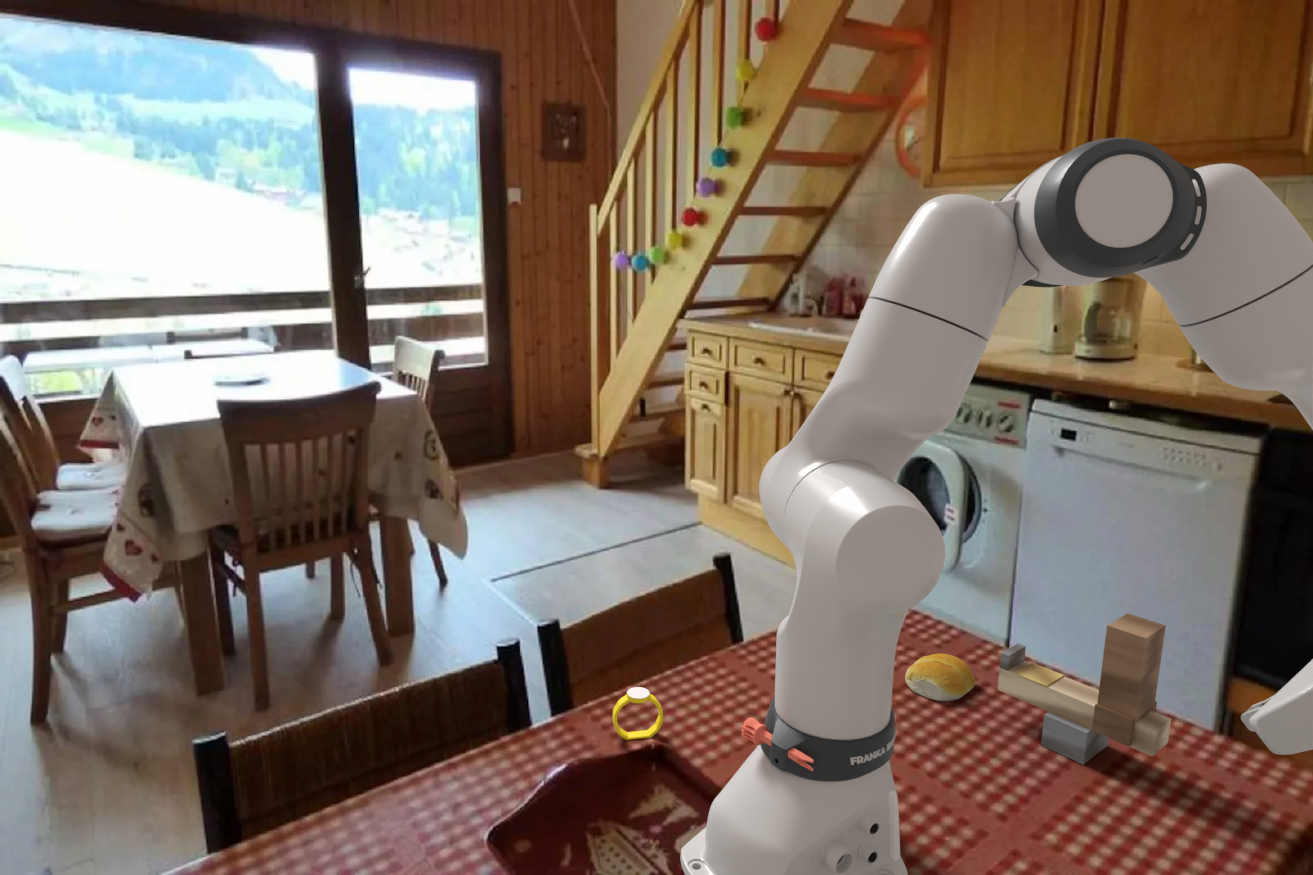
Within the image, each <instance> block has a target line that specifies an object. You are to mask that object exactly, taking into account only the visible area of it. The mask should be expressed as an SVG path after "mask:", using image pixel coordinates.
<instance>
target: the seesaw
mask: <svg viewBox="0 0 1313 875" xmlns="http://www.w3.org/2000/svg"><path fill="white" fill-rule="evenodd" d="M1026 648H1027V646H1026V645H1025V644H1021V643H1019V642H1017V643H1016V644H1015V645H1013V646H1011V647H1009V648H1007V649H1006V650H1003V651H1002V652H1000V659H999V660H1000V661H999V669H998V671H999V672H998V681H997V691H1000V692H1002V693H1003V694H1004V693H1005V694H1007V695H1009V696H1011V697H1014V698H1016V699H1018V700H1020V701H1023V702H1025V703H1028V704H1029V705H1032V706H1034V707H1036V708H1039V709H1040V710H1044V711H1046V712H1045V713H1044V715H1043V722H1042V723H1043V724H1042V733H1041V741H1040V746H1042V747H1045V748H1046V749H1049V750H1051V751H1053V752H1055V753H1057V754H1059V755H1062V756H1063V757H1066V758H1067V759H1071V760H1072V761H1074V762H1076V763H1079V764H1081V765H1086V763H1088V761H1090V760H1092V758H1094V757H1095V756H1096V755H1098V754H1100V752H1101V751H1103V750H1104V749H1105V748H1106V747H1108V746H1109V745H1108V744H1109V740H1110V738H1107V737H1105V736H1103V735H1100V734H1098V733H1096V732H1093V731H1092V724H1093V716H1094V708H1095V705H1096V704H1097V703H1098V695H1099V689H1097V688H1094V687H1092V686H1090V685H1087V684H1085V683H1081V682H1079V681H1076V680H1074V679H1072V678H1070V677H1068V676H1065V675H1064V674H1062V673H1059V672H1058V671H1055V670H1052V669H1049V668H1047V667H1044V666H1043V665H1042V666H1041V665H1039V664H1037V663H1036V662H1035V663H1034V662H1028V661H1026V660H1025V658H1026V657H1025V656H1026ZM1171 723H1172V718H1170V717H1168V716H1165V715H1163V714H1160V713H1158V712H1157V711H1156V712H1153V711H1150V712H1148V713H1147V714H1146V715H1144V716H1143V717H1142V718H1141V719H1139V720H1138V721H1137V722H1135V727H1134V734H1133V742H1132V745H1131V746H1129V747H1130V748H1131V749H1134V750H1137V751H1139V752H1141V753H1143V754H1146V755H1148V756H1150V757H1154V755H1156V754H1157V753H1158V752H1159V751H1161V750H1162V749H1163V748H1164V747H1165V746H1167V744H1168V742H1169V736H1170V730H1171Z"/></svg>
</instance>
